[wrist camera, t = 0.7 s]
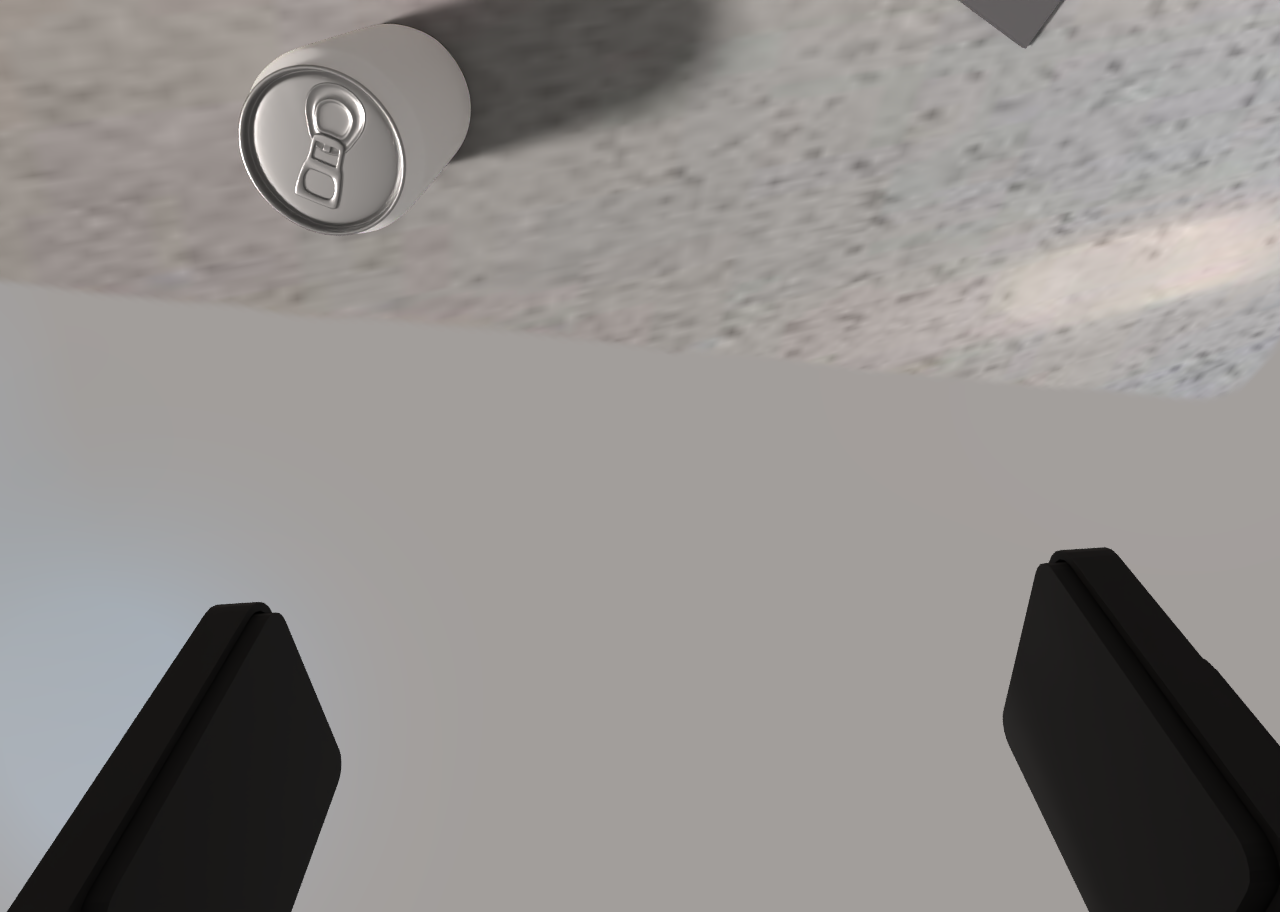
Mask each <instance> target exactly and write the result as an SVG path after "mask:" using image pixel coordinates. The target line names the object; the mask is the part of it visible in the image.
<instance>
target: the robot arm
mask: <svg viewBox="0 0 1280 912" xmlns="http://www.w3.org/2000/svg"><path fill="white" fill-rule="evenodd" d="M1003 726H1004V732H1005V735H1006V739H1007V741H1008V744H1009V746H1010V748H1011V750H1012V752H1013V755H1014V756H1015V759H1016V761H1017V763H1018V765H1019V767H1020V769H1021V771H1022V773H1023V775H1024V777H1025V779H1026V782H1027V784H1028V786H1029V788H1030V790H1031V792H1032V794H1033V796H1034V798H1035V800H1036V802H1037V804H1038V807H1039V808H1040V811H1041V813H1042V815H1043V817H1044V819H1045V821H1046V823H1047V825H1048V827H1049V829H1050V831H1051V834H1052V836H1053V838H1054V839H1055V842H1056V844H1057V846H1058V848H1059V850H1060V852H1061V854H1062V856H1063V858H1064V860H1065V863H1066V865H1067V866H1068V869H1069V871H1070V873H1071V875H1072V877H1073V879H1074V881H1075V883H1076V885H1077V888H1078V890H1079V892H1080V894H1081V896H1082V898H1083V900H1084V902H1085V904H1086V906H1087V908H1088V910H1089V912H1280V746H1279V745H1278V743H1277V742H1276V741H1275V740H1274V739H1273V737H1272V736H1271V735H1270V734H1269V733H1268V731H1267V730H1266V729H1265V728H1264V726H1263V725H1262V724H1261V723H1260V722H1259V720H1258V719H1257V718H1256V717H1255V716H1254V714H1253V713H1252V712H1251V711H1250V710H1249V708H1248V707H1247V706H1246V705H1245V704H1244V702H1243V701H1242V700H1241V699H1240V698H1239V696H1238V695H1237V694H1236V693H1235V692H1234V690H1233V689H1232V688H1231V687H1230V686H1229V684H1228V683H1227V682H1226V681H1225V679H1224V678H1223V677H1222V676H1221V675H1220V673H1219V672H1218V671H1217V670H1216V669H1215V668H1214V667H1213V666H1212V665H1211V664H1210V663H1208V661H1207V660H1205V659H1203V658H1202V657H1201V656H1200V655H1199V653H1198V652H1197V651H1196V650H1195V649H1194V647H1193V646H1192V645H1191V644H1190V642H1189V641H1188V640H1187V639H1186V637H1185V636H1184V635H1183V634H1182V633H1181V631H1180V630H1179V629H1178V628H1177V627H1176V625H1175V624H1174V623H1173V622H1172V621H1171V619H1170V618H1169V617H1168V616H1167V615H1166V613H1165V612H1164V611H1163V610H1162V608H1161V607H1160V606H1159V605H1158V603H1157V602H1156V601H1155V600H1154V599H1153V597H1152V596H1151V595H1150V594H1149V593H1148V592H1147V590H1146V589H1145V588H1144V586H1143V585H1142V584H1141V583H1140V582H1139V580H1138V579H1137V578H1136V577H1135V575H1134V574H1133V573H1132V572H1131V571H1130V569H1129V568H1128V567H1127V566H1126V565H1125V563H1124V562H1123V561H1122V560H1121V558H1120V557H1119V556H1118V555H1117V554H1116V553H1115V552H1114V551H1113V550H1111V549H1109V548H1105V547H1104V548H1090V549H1089V548H1088V549H1074V550H1060V551H1056V552H1055V553H1054V554H1053V555H1052V556H1051V559H1050V561H1049V563H1044V564H1040V566H1039V567H1038V568H1037V571H1036V574H1035V578H1034V582H1033V587H1032V591H1031V595H1030V599H1029V604H1028V608H1027V612H1026V617H1025V621H1024V625H1023V629H1022V634H1021V638H1020V642H1019V647H1018V651H1017V655H1016V660H1015V664H1014V668H1013V672H1012V677H1011V681H1010V685H1009V690H1008V694H1007V698H1006V702H1005V707H1004V711H1003ZM340 773H341V754H340V751H339V748H338V746H337V743H336V741H335V739H334V736H333V734H332V731H331V729H330V727H329V724H328V722H327V720H326V717H325V715H324V712H323V710H322V707H321V705H320V703H319V700H318V698H317V695H316V693H315V691H314V688H313V686H312V683H311V681H310V679H309V676H308V674H307V672H306V669H305V667H304V664H303V662H302V660H301V657H300V655H299V652H298V650H297V647H296V645H295V643H294V640H293V638H292V635H291V633H290V631H289V628H288V626H287V624H286V621H285V619H284V618H283V616H282V615H281V614H280V613H272V612H271V610H270V608H269V607H268V606H267V605H266V604H264V603H262V602H252V603H238V604H221V605H215V606H213V607H211V608H210V609H209V610H208V611H207V612H206V613H205V615H204V616H203V618H202V619H201V621H200V622H199V624H198V625H197V627H196V628H195V630H194V631H193V633H192V634H191V636H190V637H189V639H188V640H187V642H186V643H185V645H184V646H183V648H182V649H181V651H180V652H179V654H178V655H177V657H176V658H175V660H174V661H173V663H172V664H171V666H170V667H169V669H168V670H167V672H166V673H165V675H164V677H163V678H162V679H161V681H160V683H159V684H158V685H157V687H156V688H155V690H154V691H153V693H152V695H151V696H150V698H149V699H148V701H147V702H146V703H145V705H144V706H143V708H142V709H141V711H140V712H139V714H138V715H137V717H136V718H135V720H134V721H133V723H132V725H131V726H130V727H129V729H128V730H127V732H126V734H125V735H124V737H123V738H122V740H121V741H120V743H119V744H118V746H117V747H116V749H115V750H114V752H113V753H112V755H111V756H110V758H109V759H108V761H107V762H106V764H105V765H104V767H103V768H102V770H101V771H100V773H99V774H98V776H97V777H96V779H95V780H94V782H93V783H92V785H91V786H90V788H89V789H88V791H87V792H86V794H85V795H84V797H83V798H82V800H81V801H80V803H79V804H78V806H77V807H76V809H75V810H74V812H73V813H72V815H71V816H70V818H69V819H68V821H67V822H66V824H65V825H64V827H63V828H62V830H61V831H60V833H59V834H58V836H57V837H56V839H55V841H54V842H53V843H52V845H51V846H50V848H49V849H48V851H47V852H46V854H45V855H44V857H43V858H42V860H41V861H40V863H39V864H38V866H37V867H36V869H35V870H34V872H33V873H32V875H31V877H30V878H29V879H28V881H27V882H26V884H25V886H24V887H23V889H22V890H21V891H20V893H19V894H18V896H17V897H16V899H15V901H14V902H13V903H12V905H11V907H10V908H9V909H8V911H7V912H291V911H292V908H293V905H294V903H295V900H296V897H297V894H298V891H299V889H300V886H301V883H302V881H303V878H304V875H305V872H306V870H307V867H308V864H309V861H310V859H311V856H312V853H313V850H314V848H315V845H316V842H317V839H318V836H319V834H320V831H321V828H322V826H323V823H324V820H325V817H326V815H327V812H328V809H329V806H330V804H331V801H332V798H333V795H334V792H335V790H336V787H337V784H338V781H339V778H340Z"/></svg>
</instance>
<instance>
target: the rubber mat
mask: <svg viewBox="0 0 1280 912" xmlns="http://www.w3.org/2000/svg"><path fill="white" fill-rule="evenodd" d="M959 1H960V2H961V3H963V4H964V5H966V6H967V7H968V8H970V9H971V10H972V11H974V12H975V13H976V14H978V15H979V16H980V17H982V18H983V19H984V20H986V21H987V22H988V23H990V24H991V25H993V26H994V27H995V28H997V29H998V30H999V31H1001V32H1002V33H1003V34H1005V35H1006V36H1007V37H1009V38H1010V39H1011V40H1013V41H1014V42H1015V43H1017V44H1018V45H1020V46H1021V47H1022V48H1027V46H1028V45H1029V43H1030V42H1031V41H1032V39H1033V38H1034V37H1035V35H1036V34H1037V33H1038V31H1039V30H1040V28H1041V27H1042V26H1043V24H1044V23H1045V22H1046V20H1047V19H1048V17H1049V16H1050V15H1051V13H1052V12H1053V11H1054V9H1055V8H1056V6H1057V5H1058V4H1059V2H1060V1H1061V0H959Z"/></svg>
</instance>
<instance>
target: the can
mask: <svg viewBox="0 0 1280 912" xmlns="http://www.w3.org/2000/svg"><path fill="white" fill-rule="evenodd" d="M470 116H471V103H470V95H469V91H468V87H467V84H466V81H465V78H464V76H463V73H462V71H461V69H460V68H459V66H458V64H457V63H456V61H455V60H454V58H453V57H452V56H451V54H450V53H449V52H448V51H447V50H446V49H445V47H444V46H443V45H442V44H441V43H439V42H438V41H437V40H436V39H434V38H433V37H431V36H430V35H428V34H426V33H424V32H422V31H420V30H417V29H414V28H411V27H407V26H403V25H397V24H379V25H374V26H370V27H366V28H362V29H358V30H355V31H351V32H348V33H345V34H341V35H338V36H334V37H331V38H328V39H324V40H321V41H318V42H315V43H311V44H308V45H305V46H302V47H299V48H296V49H294V50H291V51H289V52H287V53H285V54H283V55H281V56H280V57H278V58H277V59H275V60H274V61H273V62H271V63H270V64H269V65H268V66H267V67H266V68H265V69H264V70H263V71H262V72H261V73H260V75H259V76H258V77H257V79H256V80H255V82H254V84H253V86H252V88H251V90H250V93H249V95H248V97H247V99H246V100H245V103H244V105H243V108H242V111H241V114H240V119H239V127H238V138H239V147H240V152H241V156H242V160H243V163H244V166H245V168H246V171H247V173H248V175H249V177H250V179H251V181H252V182H253V184H254V186H255V187H256V189H257V190H258V191H259V193H260V194H261V195H262V197H263V198H264V199H265V200H266V201H267V202H268V203H269V204H270V205H271V206H272V207H273V208H274V209H275V210H276V211H277V212H278V213H280V214H281V215H282V216H284V217H285V218H287V219H288V220H290V221H291V222H293V223H295V224H297V225H299V226H301V227H303V228H305V229H308V230H310V231H313V232H317V233H321V234H326V235H338V236H339V235H351V234H356V233H366V232H371V231H375V230H378V229H381V228H383V227H385V226H387V225H389V224H391V223H393V222H394V221H396V220H397V219H399V218H400V217H401V216H403V215H404V214H405V213H406V212H407V211H408V210H409V209H410V208H411V207H412V206H413V205H414V204H415V202H416V201H417V200H418V199H419V198H420V197H421V195H422V194H423V193H424V192H425V191H426V190H427V188H428V187H429V186H430V185H431V184H432V182H433V181H434V180H435V179H436V178H437V176H438V175H439V174H440V173H441V171H442V170H443V169H444V168H445V167H446V165H447V164H448V163H449V162H450V160H451V159H452V158H453V156H454V155H455V154H456V153H457V151H458V150H459V148H460V147H461V145H462V143H463V141H464V139H465V137H466V134H467V131H468V128H469V123H470Z"/></svg>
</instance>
